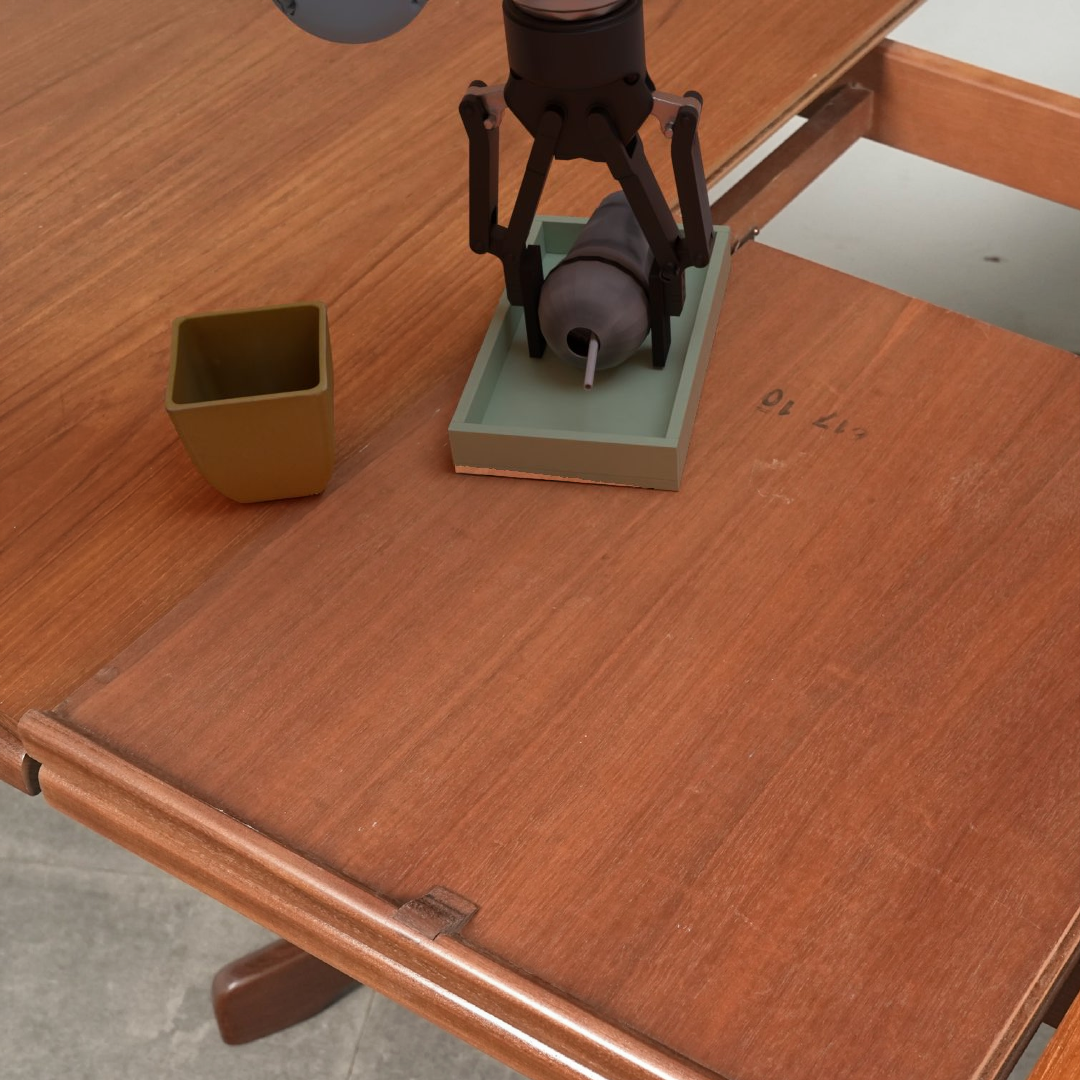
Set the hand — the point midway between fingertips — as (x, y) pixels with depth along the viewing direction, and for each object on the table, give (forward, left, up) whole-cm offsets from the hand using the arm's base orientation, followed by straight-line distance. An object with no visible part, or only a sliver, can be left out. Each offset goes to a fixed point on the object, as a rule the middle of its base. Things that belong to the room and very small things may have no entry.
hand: (600, 349), depth 99 cm
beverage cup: (+1, +11, +2) cm, 11 cm away
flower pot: (-18, -12, -1) cm, 22 cm away
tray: (0, 0, -1) cm, 1 cm away
